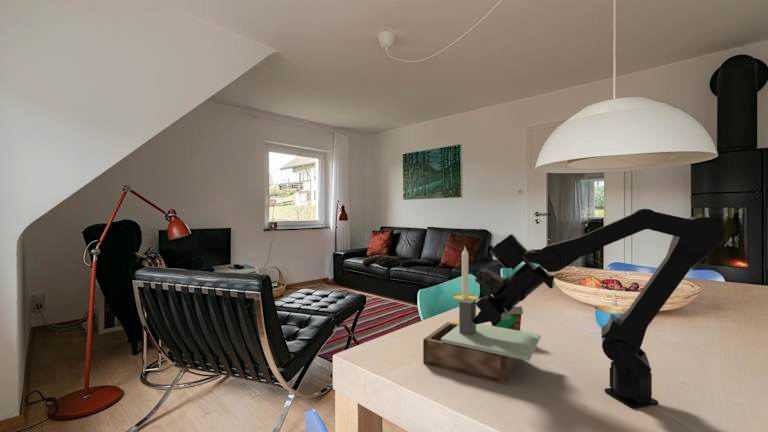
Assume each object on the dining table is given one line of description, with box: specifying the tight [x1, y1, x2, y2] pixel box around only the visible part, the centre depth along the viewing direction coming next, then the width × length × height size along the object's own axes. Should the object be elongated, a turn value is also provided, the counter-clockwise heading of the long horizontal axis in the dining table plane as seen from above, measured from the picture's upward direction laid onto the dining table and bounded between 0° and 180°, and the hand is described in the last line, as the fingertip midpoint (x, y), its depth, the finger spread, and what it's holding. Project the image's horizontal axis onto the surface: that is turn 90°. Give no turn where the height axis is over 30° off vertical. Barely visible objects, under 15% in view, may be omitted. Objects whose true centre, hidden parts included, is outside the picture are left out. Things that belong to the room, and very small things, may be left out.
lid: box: [441, 299, 541, 362], centre depth 83 cm, size 20×16×9 cm
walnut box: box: [422, 321, 521, 385], centre depth 86 cm, size 20×16×6 cm
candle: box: [450, 246, 479, 324], centre depth 112 cm, size 10×10×27 cm
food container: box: [491, 305, 524, 331], centre depth 104 cm, size 12×6×10 cm, turn 21°
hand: (474, 322), depth 86 cm, fingers closed, pressing on lid
